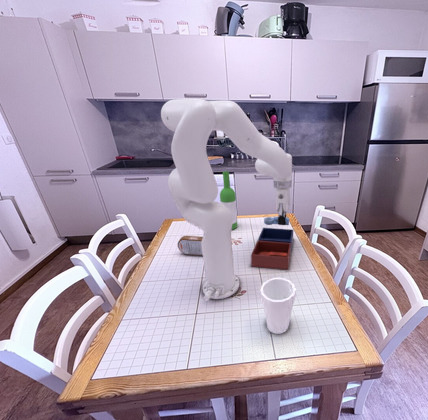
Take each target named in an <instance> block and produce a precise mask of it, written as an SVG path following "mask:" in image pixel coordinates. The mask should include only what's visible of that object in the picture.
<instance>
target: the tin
mask: <svg viewBox="0 0 428 420" xmlns="http://www.w3.org/2000/svg"><path fill="white" fill-rule="evenodd" d="M202 238H203V236H199V235H197V236H195V235H183V236H181V237H180V238H179V240H178V241H177V248H178V250H179V251H180V253H182V254H184V255H188V256H199V257H200V256H202V257H203V254H202V247H201V242H202Z"/></svg>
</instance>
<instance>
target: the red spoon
mask: <svg viewBox="0 0 428 420" xmlns="http://www.w3.org/2000/svg"><path fill="white" fill-rule="evenodd" d="M260 255H268V256H280V257H287V253H280V252H270V253H269V252H262V253H260Z"/></svg>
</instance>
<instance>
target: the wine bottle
mask: <svg viewBox="0 0 428 420" xmlns="http://www.w3.org/2000/svg"><path fill="white" fill-rule="evenodd" d="M222 180H223V188H222V189H221V190H220V192H219V200H220V201H219V203H221V204H223V205H225V206H227V207H228V208H229V209H230V211H231V212H232V215H233V223H232V230H235V229H237V227H238V213H237V212H238V211H237V196H236V192H235V190H234V189H233V188H232V187H231V182H230V181H231V180H230V172H229V170H228V171H226V170H225V171H222Z"/></svg>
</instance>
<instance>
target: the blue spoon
mask: <svg viewBox="0 0 428 420" xmlns="http://www.w3.org/2000/svg"><path fill="white" fill-rule="evenodd" d="M263 224H264V225H267V226H272V225H278V216H273V217H271V216H267V217H265V218H264V219H263ZM289 225H290V217H286V224H285V225H284V226H289Z"/></svg>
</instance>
